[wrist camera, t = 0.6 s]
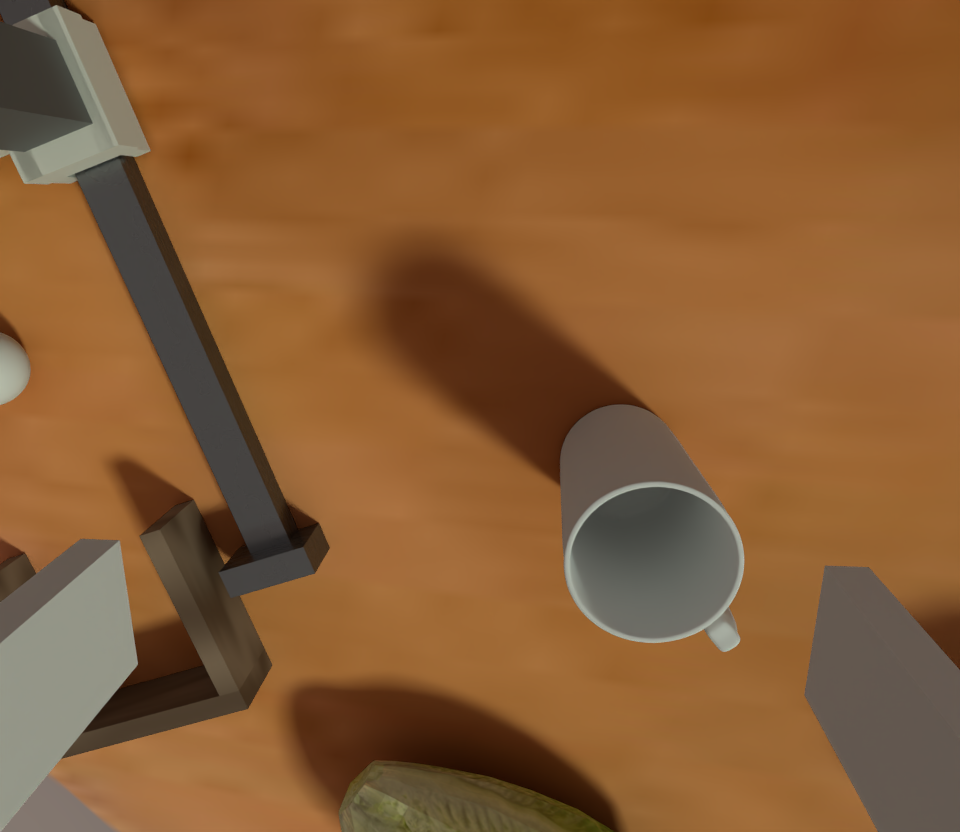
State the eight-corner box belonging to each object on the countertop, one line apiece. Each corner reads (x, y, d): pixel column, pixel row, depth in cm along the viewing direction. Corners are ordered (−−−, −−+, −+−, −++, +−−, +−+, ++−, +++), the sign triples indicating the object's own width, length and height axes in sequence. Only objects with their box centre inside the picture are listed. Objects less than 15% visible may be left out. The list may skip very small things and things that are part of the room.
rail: (-34, -38, 35) (-84, -59, 32) (57, -80, 34) (14, -106, 32) (250, 571, 43) (230, 598, 40) (329, 548, 42) (314, 573, 40)
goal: (7, 558, 44) (-43, 593, 40) (193, 499, 42) (159, 529, 38) (93, 714, 47) (54, 760, 43) (272, 665, 45) (247, 708, 41)
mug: (528, 450, 40) (527, 551, 29) (630, 372, 38) (671, 445, 27) (643, 583, 42) (685, 728, 30) (745, 513, 40) (830, 639, 29)
